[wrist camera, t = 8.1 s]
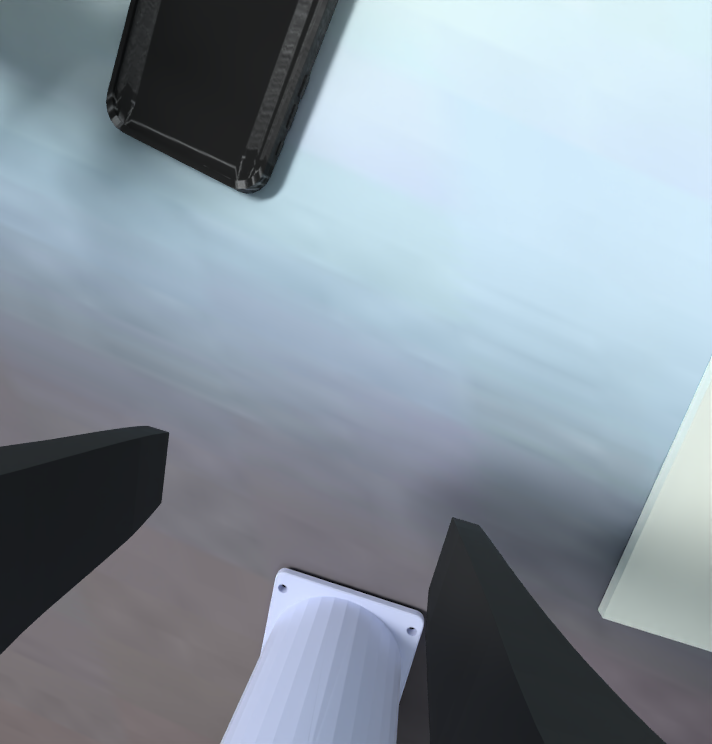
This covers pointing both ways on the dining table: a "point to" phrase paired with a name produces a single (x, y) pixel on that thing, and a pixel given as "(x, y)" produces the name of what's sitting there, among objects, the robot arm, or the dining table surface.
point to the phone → (216, 80)
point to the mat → (673, 541)
